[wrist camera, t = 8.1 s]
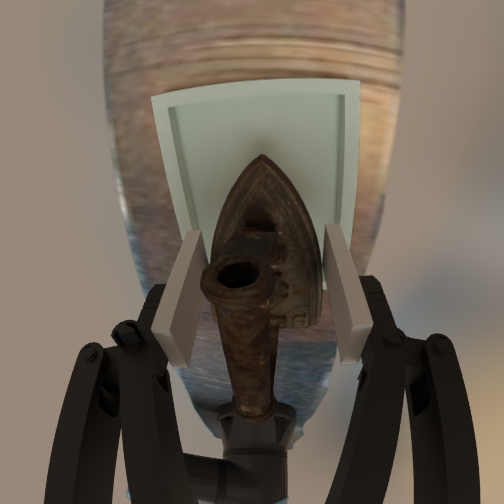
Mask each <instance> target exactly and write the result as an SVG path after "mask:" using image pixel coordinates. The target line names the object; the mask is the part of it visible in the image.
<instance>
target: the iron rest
mask: <svg viewBox="0 0 504 504" xmlns="http://www.w3.org/2000/svg"><path fill="white" fill-rule="evenodd" d="M151 101H152V106H153V112H154V118H155V123H156V128H157V133H158V138H159V143H160V148H161V153H162V158H163V162H164V167H165V171H166V176H167V180H168V185H169V189H170V193H171V197H172V202H173V206H174V210H175V214H176V218H177V222H178V226H179V229H180V233H181V237H182V241H184V238H185V236H186V233H187V231H192V230H201V231H202V236H203V240H204V245H205V249H206V254H207V258H208V262H209V264H210V256H211V248H212V242H213V237H214V232H215V228H216V225H217V221H218V218H219V215H220V212H221V209H222V207H223V205H224V202H225V200H226V198H227V195H228V194H229V192H230V190H231V188H232V187H233V185H234V183H235V182H236V180H237V179H238V177H239V176H240V174H241V173H242V171H243V170H244V169H245V168H246V166H247V165H248V164H249V163H250V162H252V161H253V160H254V159H255V158H257V157H258V156H259V155H260V154H265V155H266V156H267V157H269V158H270V159H271V160H272V161H273V162H274V163H276V164H277V165H278V167H279V168H280V169H281V170H282V171H283V172H284V173H285V174H286V176H287V177H288V178H289V179H290V181H291V182H292V183H293V185H294V186H295V188H296V190H297V191H298V193H299V195H300V196H301V198H302V200H303V202H304V204H305V206H306V208H307V210H308V212H309V215H310V217H311V219H312V222H313V225H314V228H315V231H316V234H317V238H318V242H319V247H320V252H321V259H322V258H323V244H324V229H325V224H330V223H339V225H340V227H341V230H342V232H343V235H344V238H345V240H346V243H347V246H348V248H349V251H350V243H351V236H352V227H353V218H354V209H355V198H356V187H357V173H358V157H359V133H360V81H358V80H352V79H341V78H270V79H255V80H243V81H233V82H224V83H217V84H209V85H203V86H196V87H190V88H185V89H179V90H174V91H169V92H165V93H161V94H158V95H154V96H151ZM322 272H323V267H322ZM326 289H327V286H326V281H325V276H324V272H323V290H326Z"/></svg>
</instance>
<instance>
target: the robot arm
mask: <svg viewBox="0 0 504 504" xmlns="http://www.w3.org/2000/svg"><path fill="white" fill-rule="evenodd" d="M208 265H209V262H208V258H207V254H206V249H205V245H204V240H203V236H202V231H201V230H192V231H187V233H186V236H185V238H184V241H183V243H182V246H181V248H180V251H179V253H178V256H177V258H176V261H175V263H174V266H173V269H172V271H171V274H170V276H169V279H168V282H167V284H156V285H155V286H154V287H153V288H152V289H151V290H150V291H149V293H148V295H147V298H146V300H145V301H146V302H145V303H144V305H143V309H142V310H141V313H140V316H139V318H138V320H137V321H134V320H125V321H123V322H120V323H119V324H118V325H116V327H115V328H114V329H113V331H112V334H111V336H112V338H113V339H114V341H115V342H116V344H117V345H118V346H113V347H109V348H103V347H102V346H101V345H100V344H99V343H96V342H93V343H89V344H87V345H85V346H84V347H83V348H82V349H81V350H80V352H79V355H78V357H77V360H76V363H75V366H74V369H73V372H72V375H71V379H70V382H69V385H68V388H67V392H66V395H65V398H64V402H63V406H62V409H61V413H60V417H59V421H58V425H57V429H56V433H55V438H54V442H53V447H52V452H51V457H50V463H49V469H48V475H47V482H46V489H45V499H44V504H112V495H113V485H114V475H115V467H116V459H117V451H118V444H119V438H120V431H121V429H122V441H123V451H124V460H125V467H126V475H127V481H128V490H127V493H126V497H127V498H128V499H130V500H131V504H287V499H288V493H287V492H288V481H287V480H288V476H287V475H288V473H287V450H288V446H289V443H290V440H291V437H292V434H293V432H294V429H295V426H296V411H295V410H294V409H293V408H291V407H289V406H287V405H284V404H280V403H277V408H276V412H275V414H274V415H273V416H272V417H271V418H269V419H268V420H266V421H264V422H259V423H250V422H246V421H244V420H242V419H241V418H240V417H239V416H238V415H237V414H236V413H235V412H234V410H233V408H232V403H229V404H226V405H223V406H222V407H220V408H219V410H218V416H217V423H218V427H219V431H220V435H221V439H222V442H223V447H224V450H223V459H217V458H210V457H204V456H198V455H193V454H187V453H183V451H182V447H181V442H180V437H179V432H178V426H177V420H176V415H175V409H174V403H173V396H172V390H171V383H170V375H169V372H168V370H167V364H168V361H169V362H170V364H171V366H172V367H179V368H189V363H190V359H191V354H192V349H193V344H194V339H195V335H196V330H197V325H198V321H199V316H200V311H201V307H202V303H203V298H204V293H203V292H202V291H201V289H200V279H201V275H202V272H203V270H204V269H205V268H206V267H207V266H208ZM322 267H323V272H324V276H325V281H326V286H327V290H328V295H329V300H330V305H331V310H332V315H333V321H334V326H335V332H336V337H337V343H338V349H339V355H340V361H341V365H348V364H357V363H359V360H360V358H362V363H363V367H362V370H361V372H360V374H359V377H358V380H359V385H358V389H357V394H356V399H355V403H354V408H353V412H352V416H351V421H350V425H349V428H348V433H347V436H346V440H345V444H344V447H343V451H342V454H341V457H340V461H339V464H338V467H337V470H336V474H335V477H334V480H333V483H332V486H331V488H330V491H329V494H328V497H327V500H326V502H325V504H383V500H384V497H385V493H386V490H387V486H388V483H389V479H390V474H391V470H392V466H393V461H394V457H395V452H396V446H397V441H398V435H399V429H400V423H401V415H402V408H403V399H404V389H405V391H406V397H407V404H408V412H409V419H410V430H411V440H412V453H413V471H414V472H413V473H414V504H480V478H479V465H478V455H477V447H476V440H475V433H474V427H473V421H472V416H471V411H470V406H469V401H468V397H467V393H466V389H465V384H464V381H463V377H462V373H461V369H460V366H459V362H458V359H457V356H456V352H455V349H454V346H453V344H452V342H451V340H450V339H449V338H448V337H447V336H445V335H443V334H437V333H436V334H432V335H430V336H429V337H428V338H427V340H420V339H414V338H410V337H407V336H406V335H405V334H404V332H403V331H401V330H400V329H399V328H397V327H396V324H395V321H394V319H393V316H392V313H391V310H390V307H389V305H388V303H387V300H386V297H385V294H384V293H383V289H382V286H381V284H380V282H379V281H378V280H377V279H376V278H375V277H374V276H373V275H371V276H358V274H357V271H356V268H355V265H354V262H353V259H352V257H351V254H350V251H349V248H348V246H347V243H346V240H345V238H344V235H343V232H342V230H341V227H340V225H339V223H330V224H325V229H324V244H323V258H322Z"/></svg>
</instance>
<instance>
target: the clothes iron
mask: <svg viewBox="0 0 504 504" xmlns="http://www.w3.org/2000/svg"><path fill="white" fill-rule="evenodd" d="M200 289H201V291H202V292H203V293H204V295H205V296H206V298H207V300H208V301H209V302H211V307H212V314H213V318H214V322H216V323H218V326H219V331H220V335H221V341H222V346H223V350H224V354H225V358H226V363H227V368H228V372H229V376H230V380H231V385H232V389H233V393H234V395H233V397H232V408H233V410H234V412H235V413H236V414H237V415H238V416H239V417H240V418H241V419H242V420H244V421H246V422H250V423H259V422H264V421H266V420H268V419H269V418H271V417H272V416H273V415H274V414H275V412H276V408H277V400H276V399H275V397H274V394H273V386H274V375H275V366H276V357H277V344H278V335H279V328H309V327H312V325H316V322H319V321H320V315H321V308H322V294H323V272H322V259H321V252H320V247H319V242H318V238H317V234H316V231H315V228H314V225H313V222H312V219H311V217H310V215H309V212H308V210H307V208H306V206H305V204H304V202H303V200H302V198H301V196H300V195H299V193H298V191H297V190H296V188H295V186H294V185H293V183H292V182H291V181H290V179H289V178H288V177H287V176H286V174H285V173H284V172H283V171H282V170H281V169H280V168H279V167H278V165H277V164H276V163H274V162H273V161H272V160H271V159H270V158H269V157H267V156H266V155H265V154H260V155H259V156H258V157H257V158H255V159H254V160H253V161H252V162H250V163H249V164H248V165H247V166H246V168H245V169H244V170H243V171H242V173H241V174H240V176H239V177H238V179H237V180H236V182H235V183H234V185H233V187H232V188H231V190H230V192H229V194H228V195H227V198H226V200H225V202H224V205H223V207H222V209H221V212H220V215H219V218H218V221H217V225H216V228H215V232H214V237H213V242H212V248H211V256H210V264H209V265H208V266H207V267H206V268H205V269H204V270H203V272H202V275H201V279H200Z"/></svg>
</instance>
